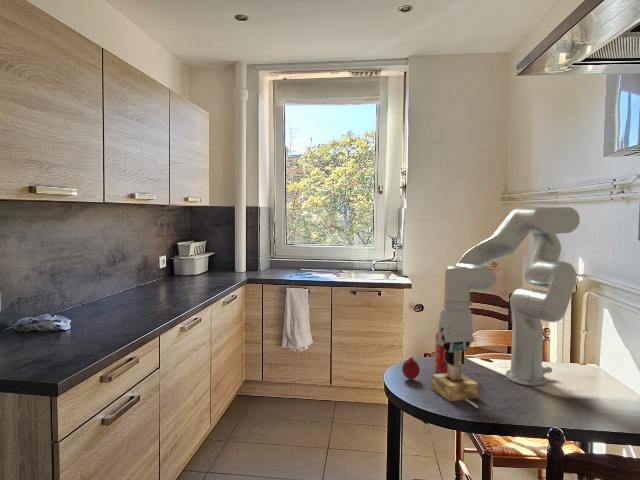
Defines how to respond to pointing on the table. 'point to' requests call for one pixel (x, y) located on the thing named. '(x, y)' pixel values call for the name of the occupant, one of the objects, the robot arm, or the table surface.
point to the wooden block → (454, 387)
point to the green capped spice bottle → (455, 362)
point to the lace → (471, 403)
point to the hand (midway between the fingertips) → (454, 362)
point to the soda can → (440, 358)
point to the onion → (410, 368)
